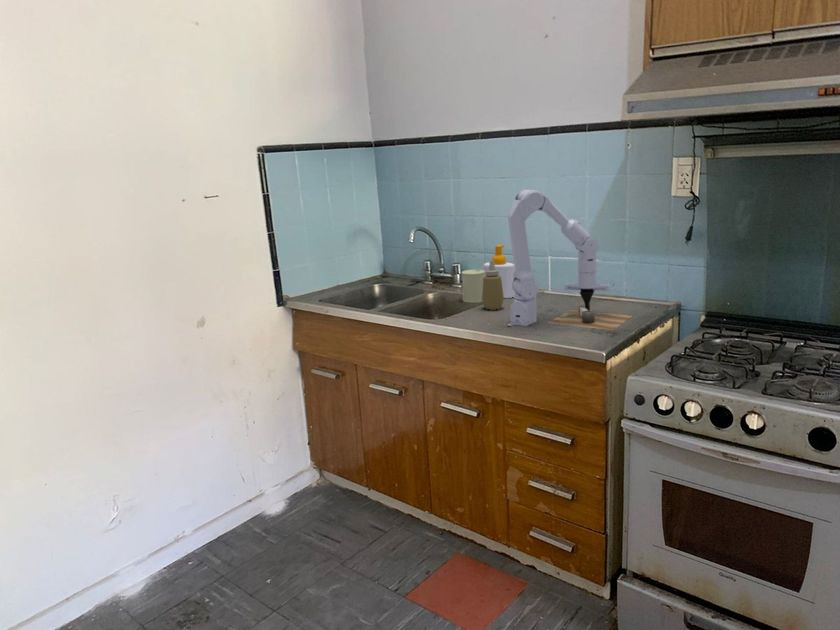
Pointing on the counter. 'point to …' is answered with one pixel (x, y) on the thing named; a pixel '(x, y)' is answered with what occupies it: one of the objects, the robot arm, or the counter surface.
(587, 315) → the peg
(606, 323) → the board
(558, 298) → the counter surface
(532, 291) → the robot arm
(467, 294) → the can
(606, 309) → the counter surface
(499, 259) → the soap bottle
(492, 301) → the squeeze bottle
